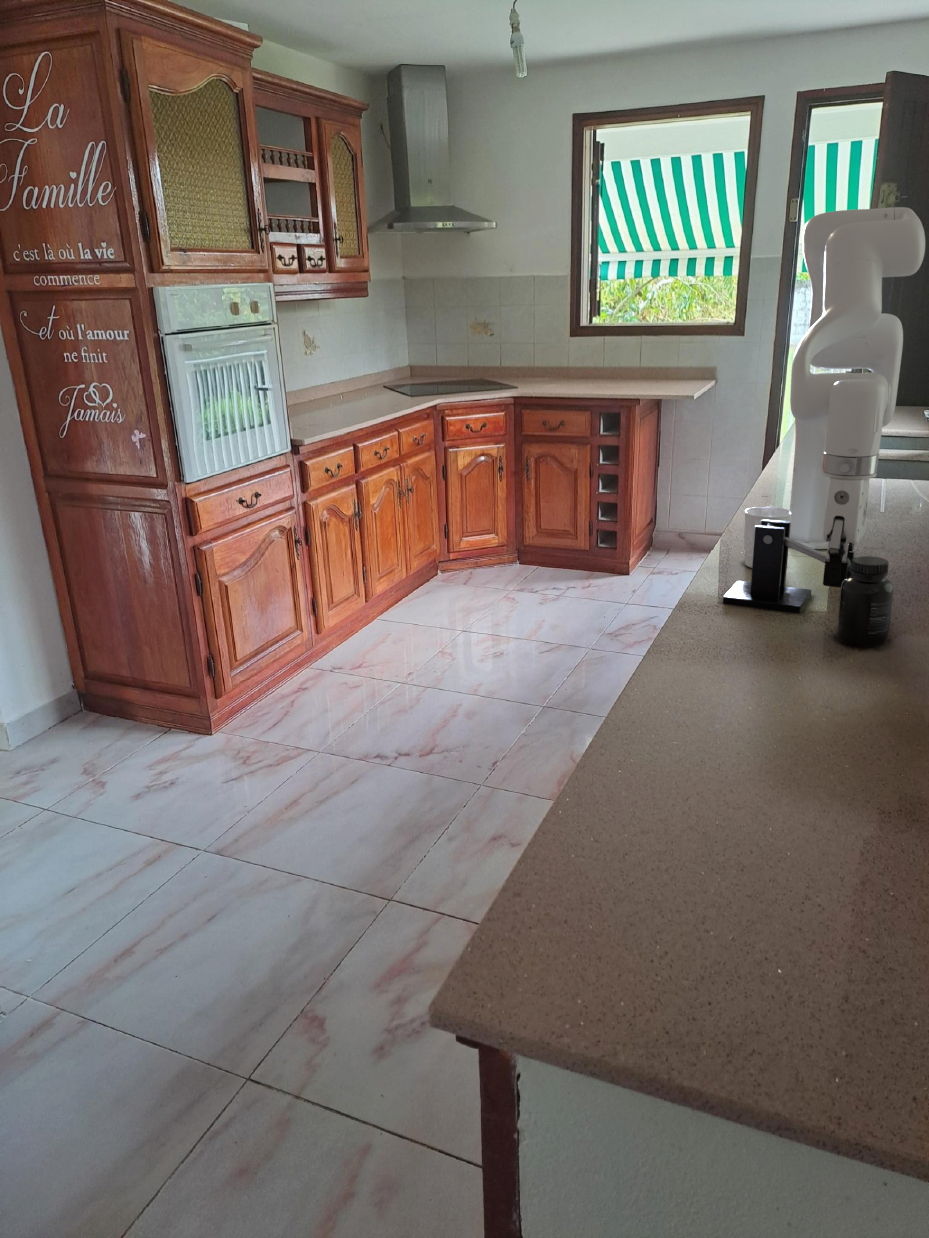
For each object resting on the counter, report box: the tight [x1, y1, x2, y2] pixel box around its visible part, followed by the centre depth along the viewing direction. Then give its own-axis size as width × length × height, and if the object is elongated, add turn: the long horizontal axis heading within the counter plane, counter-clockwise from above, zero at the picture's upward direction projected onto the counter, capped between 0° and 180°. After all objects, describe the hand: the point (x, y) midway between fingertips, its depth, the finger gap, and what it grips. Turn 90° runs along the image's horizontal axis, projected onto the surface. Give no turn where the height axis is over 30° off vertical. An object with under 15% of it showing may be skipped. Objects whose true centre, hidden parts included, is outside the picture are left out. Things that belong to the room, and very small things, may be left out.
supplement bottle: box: [836, 555, 895, 649], centre depth 125 cm, size 7×7×12 cm
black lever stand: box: [722, 519, 812, 615], centre depth 142 cm, size 12×9×13 cm
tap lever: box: [767, 524, 851, 572], centre depth 138 cm, size 14×3×3 cm, turn 59°
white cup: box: [743, 506, 791, 569], centre depth 160 cm, size 8×8×10 cm
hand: (837, 579), depth 137 cm, fingers open, 4 cm apart
